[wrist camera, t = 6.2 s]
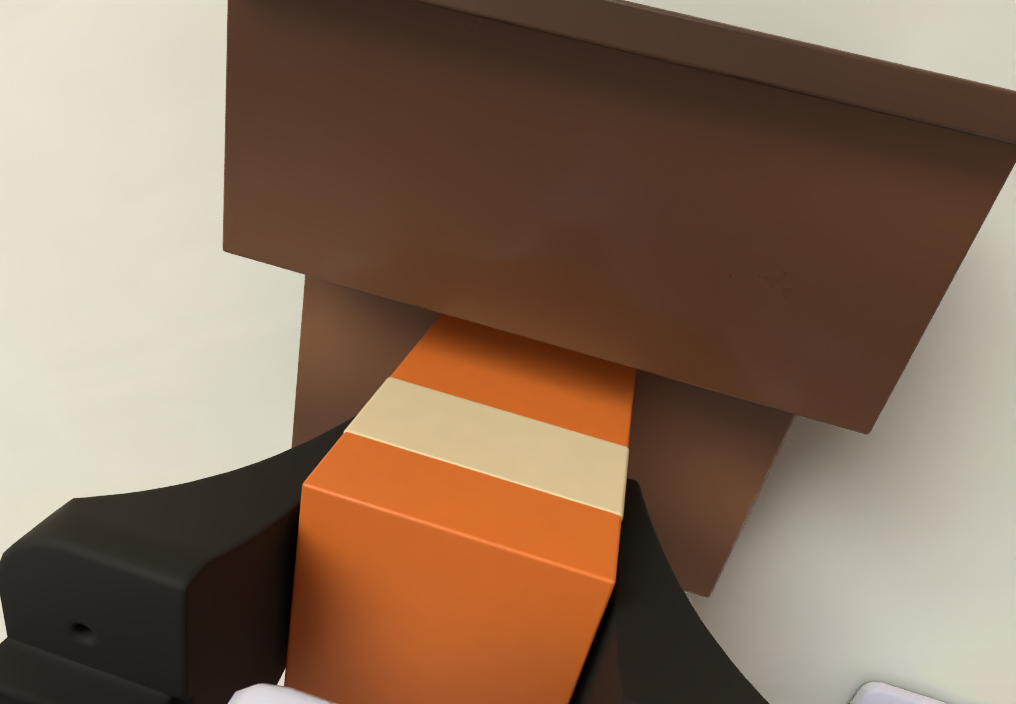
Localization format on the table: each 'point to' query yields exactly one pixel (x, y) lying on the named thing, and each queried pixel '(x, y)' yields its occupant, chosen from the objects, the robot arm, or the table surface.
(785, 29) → the table surface
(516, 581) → the packet
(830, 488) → the table surface
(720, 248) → the wooden desk organizer
